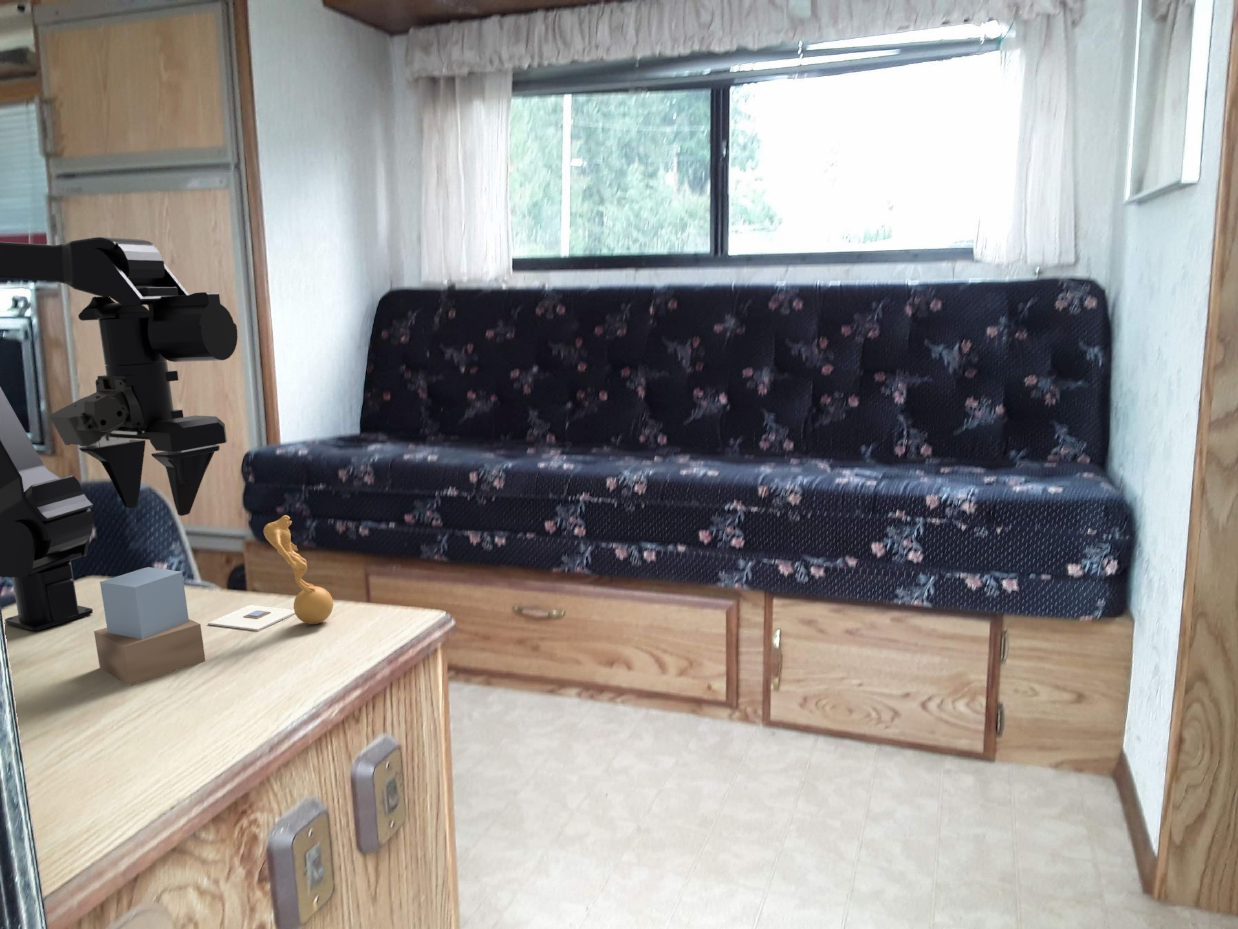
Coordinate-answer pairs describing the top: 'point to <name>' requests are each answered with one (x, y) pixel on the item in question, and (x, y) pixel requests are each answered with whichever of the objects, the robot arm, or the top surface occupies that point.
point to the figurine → (299, 575)
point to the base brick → (149, 652)
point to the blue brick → (144, 602)
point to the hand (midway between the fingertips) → (157, 511)
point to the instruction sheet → (253, 617)
